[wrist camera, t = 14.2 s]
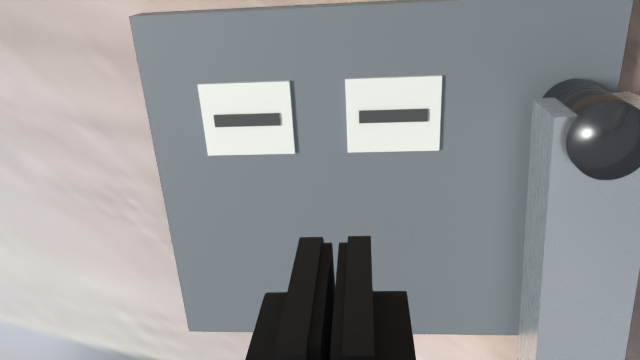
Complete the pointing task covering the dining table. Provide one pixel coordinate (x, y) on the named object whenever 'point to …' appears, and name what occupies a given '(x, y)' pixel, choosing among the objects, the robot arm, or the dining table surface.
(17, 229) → the dining table surface
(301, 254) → the robot arm
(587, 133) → the swing bar
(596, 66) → the label board
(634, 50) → the dining table surface
